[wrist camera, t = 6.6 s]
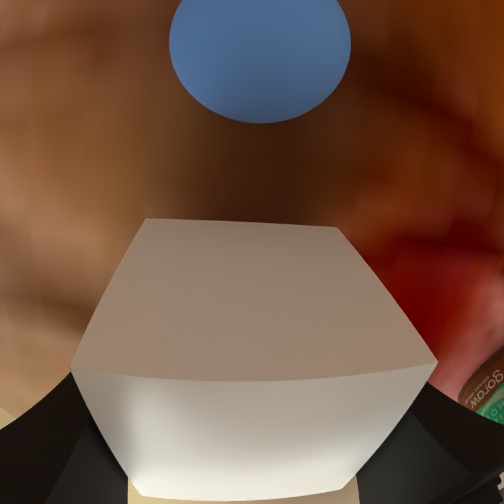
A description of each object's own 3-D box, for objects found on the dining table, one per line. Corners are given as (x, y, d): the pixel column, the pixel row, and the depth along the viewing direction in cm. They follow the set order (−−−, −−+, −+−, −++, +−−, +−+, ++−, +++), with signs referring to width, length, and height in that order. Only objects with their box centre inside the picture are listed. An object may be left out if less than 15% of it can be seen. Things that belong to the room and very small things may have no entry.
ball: (176, 114, 10) (143, 129, 6) (188, -11, 8) (167, -71, 4) (312, 123, 11) (370, 148, 7) (325, 4, 9) (387, -39, 4)
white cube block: (159, 358, 13) (140, 495, 7) (145, 218, 10) (69, 366, 4) (304, 360, 13) (341, 489, 8) (337, 227, 10) (438, 362, 5)
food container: (497, 331, 19) (558, 416, 10) (526, 328, 20) (579, 398, 11) (426, 420, 25) (460, 497, 16) (462, 410, 26) (495, 476, 17)
